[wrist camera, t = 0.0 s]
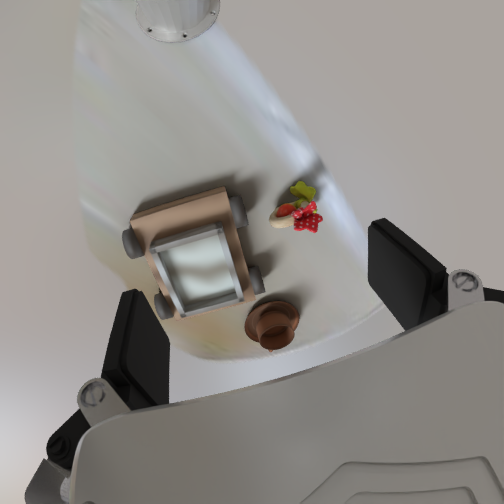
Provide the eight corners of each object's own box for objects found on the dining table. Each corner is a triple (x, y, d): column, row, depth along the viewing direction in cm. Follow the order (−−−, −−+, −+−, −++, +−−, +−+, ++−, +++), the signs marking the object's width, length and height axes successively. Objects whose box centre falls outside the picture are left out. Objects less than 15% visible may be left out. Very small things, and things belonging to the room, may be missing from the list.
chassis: (122, 217, 46) (115, 231, 41) (236, 182, 46) (241, 192, 42) (168, 313, 57) (166, 332, 52) (262, 287, 58) (269, 305, 53)
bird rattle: (283, 219, 53) (327, 203, 49) (275, 258, 45) (329, 241, 41) (267, 192, 50) (313, 174, 46) (256, 228, 42) (313, 208, 38)
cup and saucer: (299, 328, 66) (307, 347, 61) (249, 342, 65) (254, 362, 60) (293, 290, 60) (302, 308, 54) (237, 305, 59) (241, 326, 54)
